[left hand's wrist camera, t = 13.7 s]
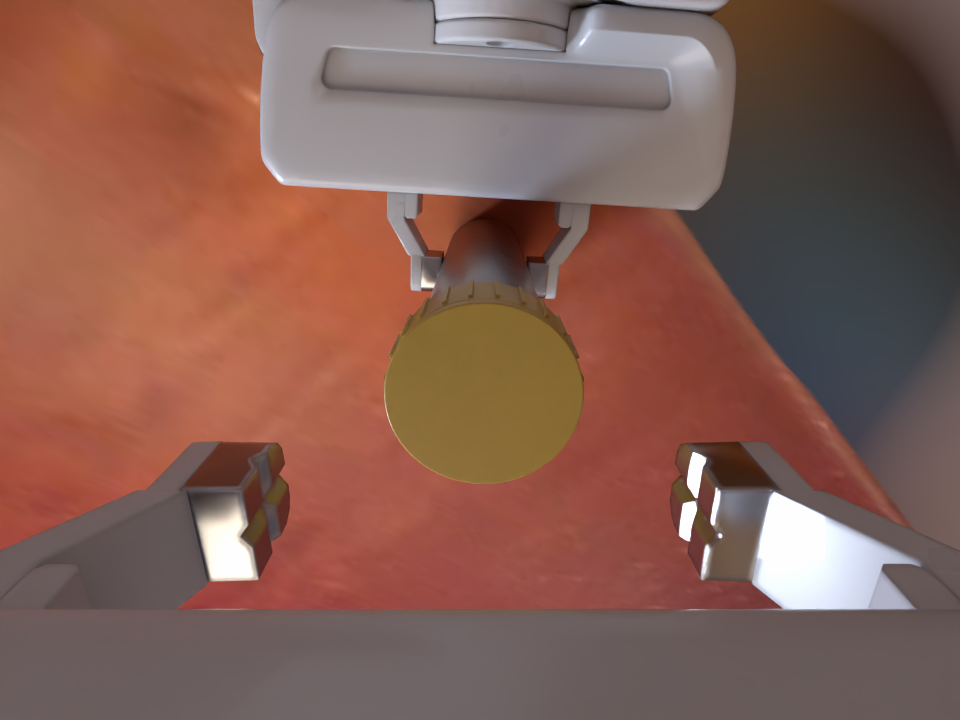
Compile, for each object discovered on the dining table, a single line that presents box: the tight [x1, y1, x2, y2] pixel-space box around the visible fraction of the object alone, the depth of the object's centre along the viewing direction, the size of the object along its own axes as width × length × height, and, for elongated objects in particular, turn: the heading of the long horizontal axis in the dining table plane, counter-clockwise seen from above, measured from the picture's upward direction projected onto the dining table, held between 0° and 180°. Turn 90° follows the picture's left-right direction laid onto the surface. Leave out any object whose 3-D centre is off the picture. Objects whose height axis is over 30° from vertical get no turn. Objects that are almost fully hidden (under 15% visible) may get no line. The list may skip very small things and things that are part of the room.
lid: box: [384, 280, 584, 484], centre depth 15 cm, size 5×5×2 cm
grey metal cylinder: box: [429, 219, 539, 300], centre depth 23 cm, size 4×4×19 cm
